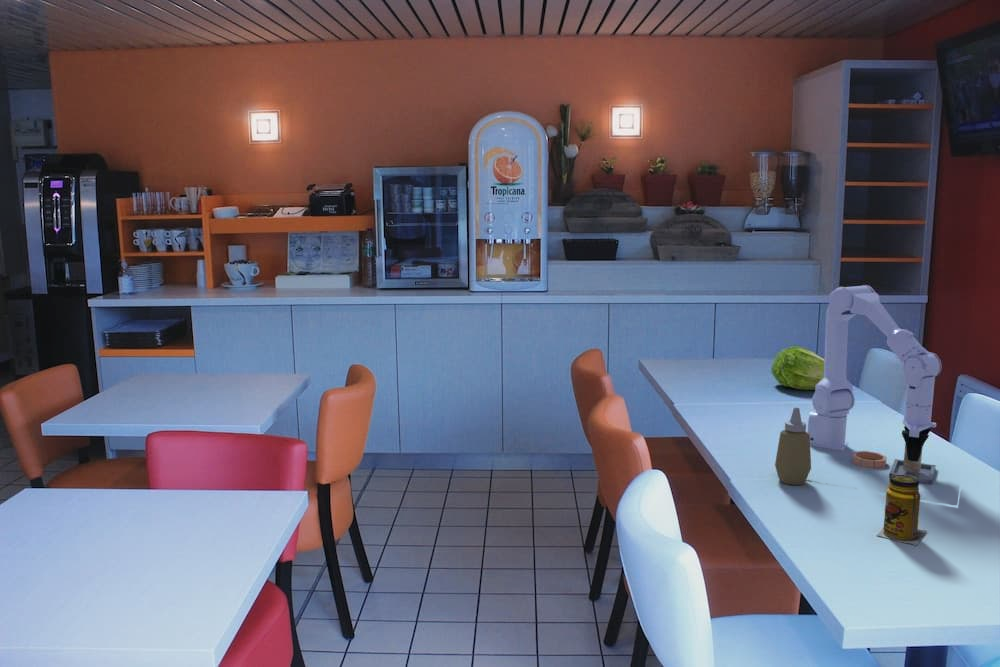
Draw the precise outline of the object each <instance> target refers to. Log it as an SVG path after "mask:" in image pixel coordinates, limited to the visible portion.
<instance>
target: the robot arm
mask: <svg viewBox="0 0 1000 667" xmlns="http://www.w3.org/2000/svg"><path fill="white" fill-rule="evenodd" d="M828 297H829V298H828V307H827V309H826V311H825V329H824V330H825V332H824V335H825V336H824V358H823V359H824V378H823V379H822V380H821V381H820V382H819V383H818V384H817V385H816V387H815V390H814V393H813V396H812V400H811V402H812V406H813V409H814V410H815V411H814V410H813V411H812V410H811V411H810V413H809V416H808V421H807V433H808V434H809V435H810V447H811V446H812V447H820V448H826V449H832V450H836V451H837V450H838V451H845V449H846V447H847V446H848V444H849V441H846V434H847V433H846V432H847V420H848V419H847V418H848V415H849V414H850V411H851V410H852V409H853V407H854V406H855V400H856V399H855V395H854V392H853V385H852V383H851V382H850V381H849V380H848V379H847V378H846V376H847V366H848V365H847V361H848V338H849V336H848V334H849V321H850V320H851V319H853V317H855V316H856V315H861V316H865V317H867V318H868V319H869V320H870V321H871V323H872V324H874V325H875V326H876V327H877V328H878V329H879V330H880V332H881V333H883V334H884V336H886V345H887V346H888V347H889V348H890V350H891V351H892V353H894V354H895V356H896V357H897V358H898V359H899V361H900V362H901V363H902V371H903V374H904V376H905V383H906V392H905V404H904V414H903V419H902V424H903V425H904V426H903V430H901V435H902V436H901V437H902V438H903V440H904V444H905V443H906V448H907V457H908V460H910V461H917V462H918V460H919V457H920V454H921V450H922V451H923V447H924V445H925V442H926V441H927V440H928V438H929V437H930V435H929V433H931V428H936V427H937V423H936V422H932V414H933V413H932V410H933V402H934V394H935V393H934V391H935V381H936V380H935V379H936V377H937V376H938V375H940V373H941V372H942V361H941V359H940V358H939V356H938V354H936V353H934V352H930V351H928V350H927V349H926V348H925V347H923V346H922V345H921V344H920V342H919V341H918V340H917V339H916V338H915V336H914V335H915V334H914V333H913V332H912V331H909V330H908V329H906V328H905V329H902V328H900V327H899V326H898V324H897V323H896V322H895V320H894V319H893V317H892V316H891V315H890V314H889V312H888V311H887V310H886V308H885V307H884V305H883V304H882V303H881V301H880V295H879V294H878V293H877V292H876V291H875V290H874V288H873V287H871V286H870V285H868V284H867V285H866V284H863V285H857V286H845V287H844V286H839V287H836V288H835V289H834V290H832V291H831V292H830V293H829V294H828Z"/></svg>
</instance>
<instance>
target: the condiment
mask: <svg viewBox="0 0 1000 667" xmlns="http://www.w3.org/2000/svg"><path fill="white" fill-rule="evenodd" d="M919 485H920V483H919V480H918V479H916V478H914V477H912V476H908V475H892V476H891V477H890V478H889V482H888V488H887V489H886V494H885V506H884V519H883V520H884V521H883V527H882V528H881V530H880V531H879V532H878V533H877V534H876V536H877V537H882V538H886V539H888V540H893V541H896V542H901V543H906V544H909V545H910V544H911V545H914V546H917V545H918V544H919V543H920V541H921V540H922V539H923V537H924V535H925V534H926V533H927V531H928V530H927V529H920V528H919V527H918V526H919V517H920V506H921V505H920V502H921V494H920V491H919V490H920V488H919Z"/></svg>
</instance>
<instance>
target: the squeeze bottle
mask: <svg viewBox="0 0 1000 667" xmlns="http://www.w3.org/2000/svg"><path fill="white" fill-rule="evenodd" d="M791 413H792V414H791V416H790V420H786V421H785V423H784V429H783V430H781V431H780V433H779V439H778V445H777V450H776V457H775V461H774V462H775V463H774V467H775V470H776V474H777V478H778V479H779V481H780V482H782V483H784V484H787V485H794V486H795V485H796V486H800V485H804V484H805V483H806V481H807V478H808V476H809V475H810V472H811V469H812V458H811V445H810V435H809V434H808V431H807V424H806V422H803V421H802V417H801V410H800V408H799V407H793V408H792V412H791Z"/></svg>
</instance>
